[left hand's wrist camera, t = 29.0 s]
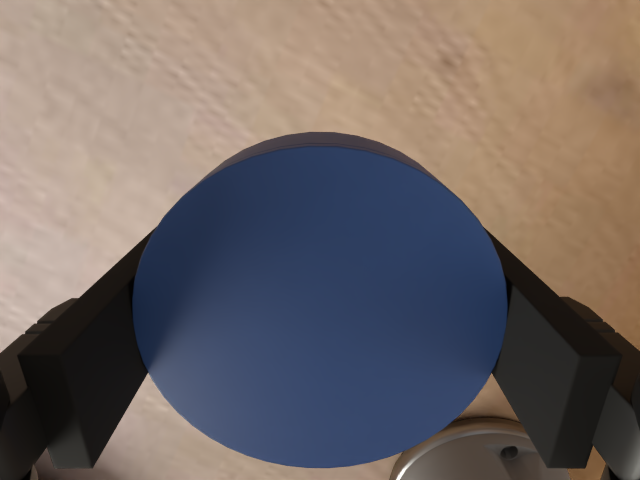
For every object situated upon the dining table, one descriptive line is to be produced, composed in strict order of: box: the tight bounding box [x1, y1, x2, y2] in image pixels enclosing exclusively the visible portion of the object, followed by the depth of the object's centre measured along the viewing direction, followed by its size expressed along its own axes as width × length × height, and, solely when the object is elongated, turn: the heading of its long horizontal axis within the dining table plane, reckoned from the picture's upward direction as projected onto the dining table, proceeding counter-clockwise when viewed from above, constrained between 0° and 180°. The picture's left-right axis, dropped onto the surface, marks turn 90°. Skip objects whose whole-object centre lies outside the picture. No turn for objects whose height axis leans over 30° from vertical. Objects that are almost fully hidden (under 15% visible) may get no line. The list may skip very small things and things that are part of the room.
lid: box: [132, 132, 508, 468], centre depth 11 cm, size 9×9×2 cm
